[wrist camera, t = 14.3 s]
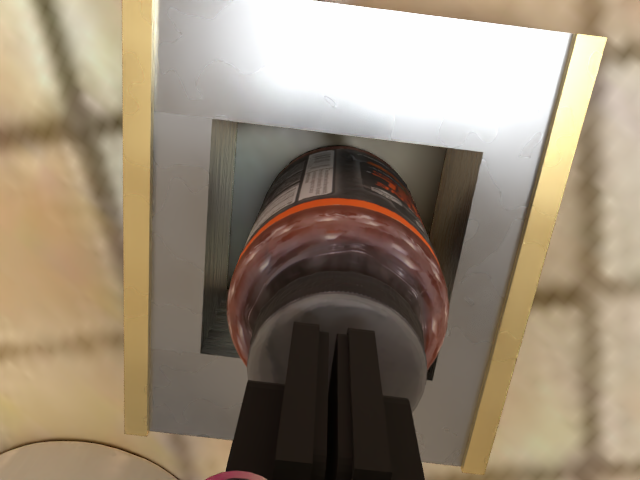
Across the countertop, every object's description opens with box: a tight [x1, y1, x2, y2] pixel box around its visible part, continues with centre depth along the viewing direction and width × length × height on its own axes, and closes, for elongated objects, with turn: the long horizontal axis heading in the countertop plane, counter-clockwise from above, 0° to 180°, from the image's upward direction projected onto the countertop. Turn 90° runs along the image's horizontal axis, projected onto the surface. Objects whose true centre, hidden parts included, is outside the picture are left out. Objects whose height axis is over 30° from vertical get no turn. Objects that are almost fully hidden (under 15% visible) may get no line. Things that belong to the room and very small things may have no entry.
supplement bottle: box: [227, 146, 449, 413], centre depth 18 cm, size 6×6×11 cm
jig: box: [122, 0, 607, 475], centre depth 21 cm, size 15×13×5 cm
